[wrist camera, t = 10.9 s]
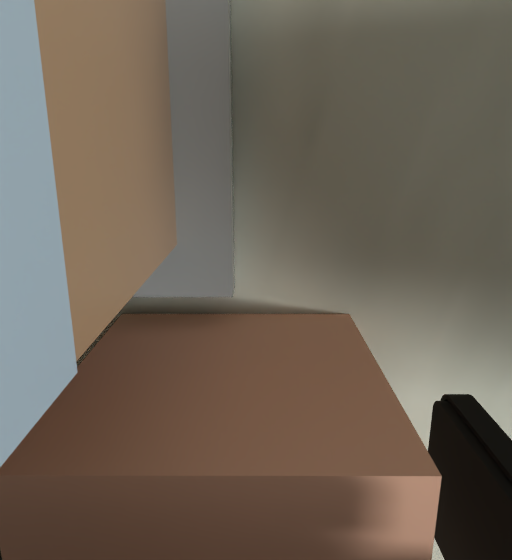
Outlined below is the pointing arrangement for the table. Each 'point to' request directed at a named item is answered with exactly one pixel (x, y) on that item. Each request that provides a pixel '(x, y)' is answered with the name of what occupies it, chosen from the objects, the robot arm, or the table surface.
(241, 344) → the terracotta block
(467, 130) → the table surface
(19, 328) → the blue block
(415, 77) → the table surface
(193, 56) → the base
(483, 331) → the table surface
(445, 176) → the table surface
